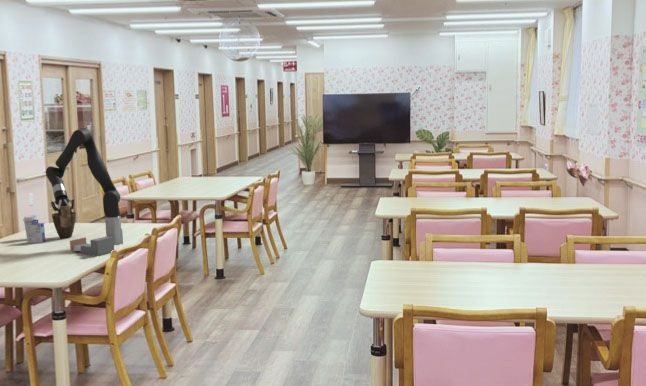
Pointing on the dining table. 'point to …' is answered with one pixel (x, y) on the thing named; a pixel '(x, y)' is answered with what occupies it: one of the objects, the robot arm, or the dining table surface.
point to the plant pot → (64, 231)
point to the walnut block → (65, 216)
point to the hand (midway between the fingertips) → (65, 214)
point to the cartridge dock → (99, 246)
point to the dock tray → (78, 244)
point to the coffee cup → (29, 220)
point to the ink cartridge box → (35, 232)
